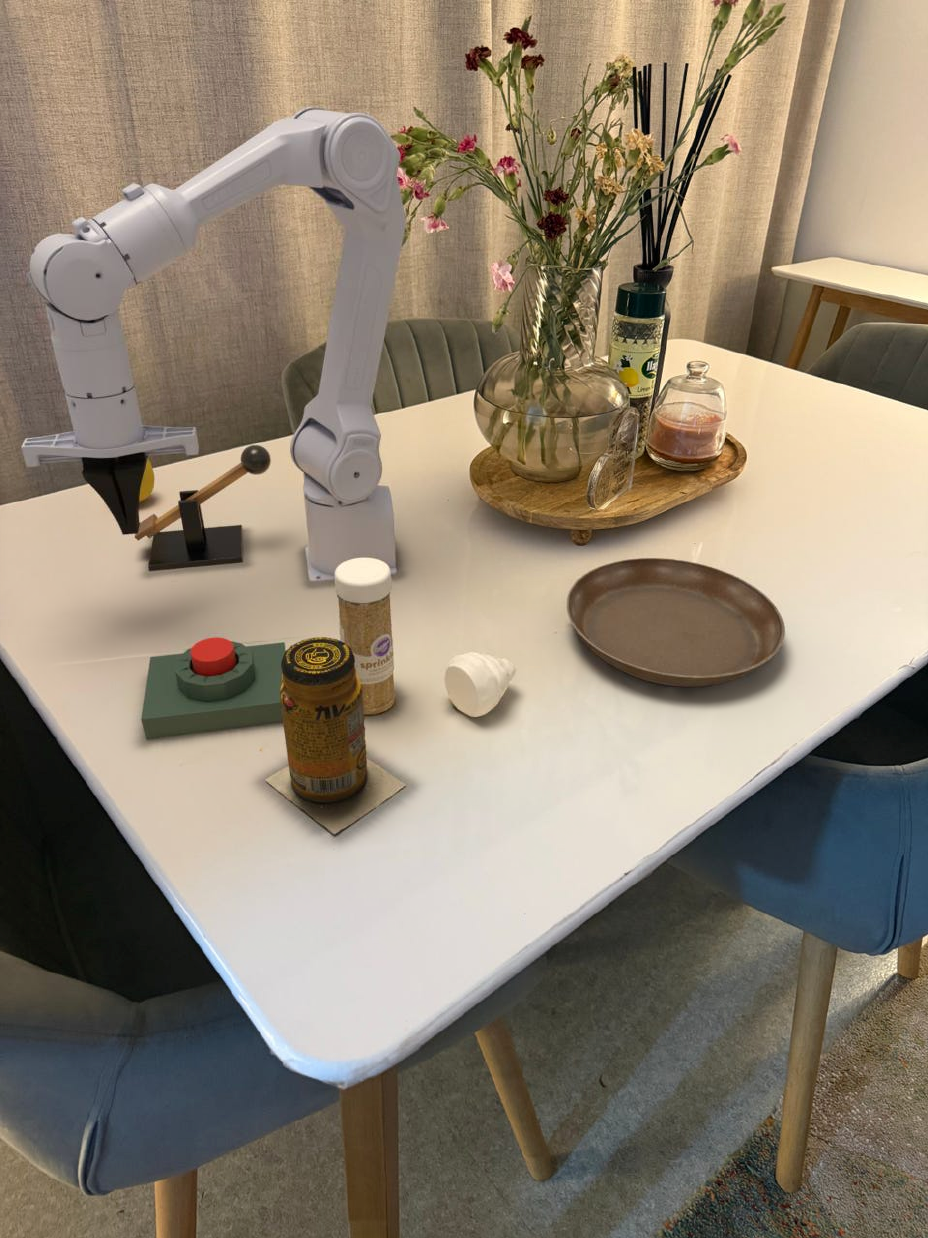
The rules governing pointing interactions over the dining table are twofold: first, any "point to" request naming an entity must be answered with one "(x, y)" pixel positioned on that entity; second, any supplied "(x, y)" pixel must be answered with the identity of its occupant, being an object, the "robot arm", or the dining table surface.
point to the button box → (213, 693)
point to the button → (213, 656)
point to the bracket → (195, 541)
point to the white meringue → (477, 682)
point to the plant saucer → (675, 621)
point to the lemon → (147, 482)
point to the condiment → (327, 737)
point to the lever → (211, 489)
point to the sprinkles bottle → (368, 627)
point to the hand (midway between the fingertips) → (131, 529)
